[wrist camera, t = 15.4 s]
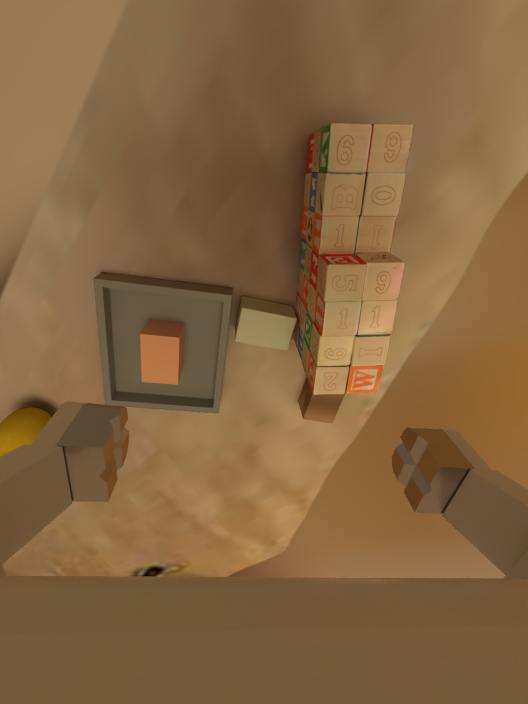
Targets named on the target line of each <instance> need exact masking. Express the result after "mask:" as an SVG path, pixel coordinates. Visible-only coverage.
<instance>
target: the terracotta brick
mask: <svg viewBox="0 0 528 704" xmlns="http://www.w3.org/2000/svg"><path fill="white" fill-rule="evenodd" d="M184 327H185V323H183V322H173V321H163V320H154V319H149V320H148V322H147V323H146V325H145V327H144V328H143V330H142V332H141V333H140V345H141V374H142V382H149V383H161V384H174V385H178V383H179V380H180V376H181V373H182V369H183V356H184Z"/></svg>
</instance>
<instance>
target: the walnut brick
mask: <svg viewBox="0 0 528 704" xmlns="http://www.w3.org/2000/svg"><path fill="white" fill-rule="evenodd" d="M344 395H345V393H344V394H319V395H314V394H313V393H312V390H311V386H310V384H309V381H308V378H306V380H305V383H304V386H303V389H302V392H301V395H300V397H299V400H298V402H299V405H300V409H301V413H302V416H303V419H307V420H313V421H320V422H327V423H333V420H334V418H335V416H336V413H337V411H338V409H339V406H340V404H341V402H342V399H343V397H344Z"/></svg>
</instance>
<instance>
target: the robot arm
mask: <svg viewBox="0 0 528 704" xmlns="http://www.w3.org/2000/svg"><path fill="white" fill-rule="evenodd" d="M127 420H128V414H127V408H126V407H123V406H112V405H102V404H91V403H87V404H86V403H77V402H65V403H63V404H62V405H61V406H60V407H59V409H58V410H57V411H56V413H55V414H54V415H53V416H52V418H51V419H50V420H49V422H48V423H47V424H46V426H45V427H44V428H43V430H42V431H41V432H40V433H39V435H38V436H37V437H36V439H35V440H34V441H33V443H32V444H31V445H22V446H20V447H18V448H17V449H15V450H13V451H11V452H9V453H7V454H5V455H3V456H1V457H0V704H528V489H526V488H525V487H523V486H522V485H520V484H518V483H517V482H515V481H513V480H512V479H510V478H508V477H506V476H505V475H503V474H502V473H500V472H499V471H495V470H492V469H491V468H490V467H489V466H488V465H487V464H486V463H485V462H484V460H483V459H482V458H481V457H480V456H479V455H478V453H477V452H476V451H475V450H474V449H473V448H472V446H471V445H470V444H469V443H468V442H467V441H466V439H465V438H464V437H463V436H462V435H461V434H460V433H459V432H457V431H456V430H453V429H426V428H411V427H407V428H406V429H405V430H404V431H403V433H402V435H401V440H402V442H403V443H402V444H400V445H399V446H398V447H396V448H395V451H394V453H393V456H392V467H393V471H394V474H395V476H396V478H397V480H399V481H400V482H401V483H402V484H404V485H405V490H404V493H405V495H406V497H407V499H408V501H409V503H410V504H411V506H412V508H413V510H414V512H420V513H434V514H443V515H442V516H443V517H444V518H445V519H446V520H447V521H448V522H450V523H451V524H452V525H453V526H454V527H455V528H456V529H457V530H458V531H459V532H460V533H461V534H462V535H463V536H465V538H467V539H468V540H469V541H470V542H471V543H472V544H473V545H474V546H475V547H476V548H477V549H478V550H479V551H480V552H481V553H482V554H483V555H485V556H486V557H487V558H488V559H489V560H490V561H491V562H492V563H493V564H494V565H495V566H496V567H497V568H498V569H499V570H501V571H502V572H503V573H504V574H505V575H506V576H505V577H504V578H503V579H471V578H465V579H464V578H276V577H275V578H273V577H272V578H271V577H268V578H267V577H106V576H6V574H5V571H4V568H3V566H2V564H3V563H5V562H6V561H7V560H8V559H9V558H10V557H11V556H13V555H14V554H15V553H16V552H17V551H18V550H19V549H21V548H22V547H23V546H24V545H25V544H26V543H27V542H29V541H30V540H31V539H32V538H33V537H34V536H35V535H37V534H38V533H39V532H40V531H41V530H42V529H43V528H45V527H46V526H47V525H48V524H49V523H50V522H51V521H53V520H54V519H55V518H56V517H57V516H58V515H60V514H61V513H62V512H63V511H64V510H65V509H66V508H68V507H69V506H70V505H71V504H72V501H98V502H109V499H110V497H111V494H112V492H113V489H114V487H115V484H116V482H117V470H118V469H119V468H121V467H122V466H123V464H124V461H125V458H126V454H127V450H128V443H129V431H128V430H127V429H126V428H125V424H126V422H127Z"/></svg>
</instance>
